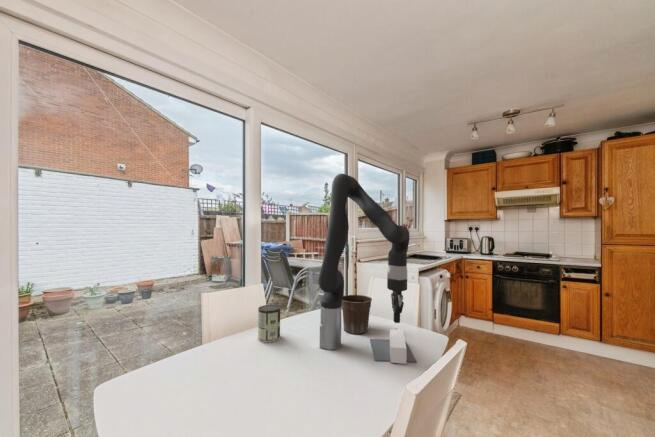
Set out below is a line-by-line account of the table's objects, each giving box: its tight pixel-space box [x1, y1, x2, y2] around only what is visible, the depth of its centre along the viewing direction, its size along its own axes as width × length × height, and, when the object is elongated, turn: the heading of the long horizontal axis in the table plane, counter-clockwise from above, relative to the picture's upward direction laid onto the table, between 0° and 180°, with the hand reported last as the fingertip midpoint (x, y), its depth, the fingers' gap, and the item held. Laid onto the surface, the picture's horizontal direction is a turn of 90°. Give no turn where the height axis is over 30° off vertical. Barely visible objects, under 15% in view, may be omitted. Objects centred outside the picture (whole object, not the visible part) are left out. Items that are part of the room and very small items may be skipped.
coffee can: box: [257, 304, 281, 343], centre depth 132 cm, size 10×10×14 cm
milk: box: [389, 328, 407, 365], centre depth 119 cm, size 6×6×22 cm
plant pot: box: [341, 294, 373, 335], centre depth 144 cm, size 16×16×16 cm
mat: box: [369, 338, 418, 364], centre depth 120 cm, size 16×21×1 cm
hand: (396, 322), depth 108 cm, fingers closed
